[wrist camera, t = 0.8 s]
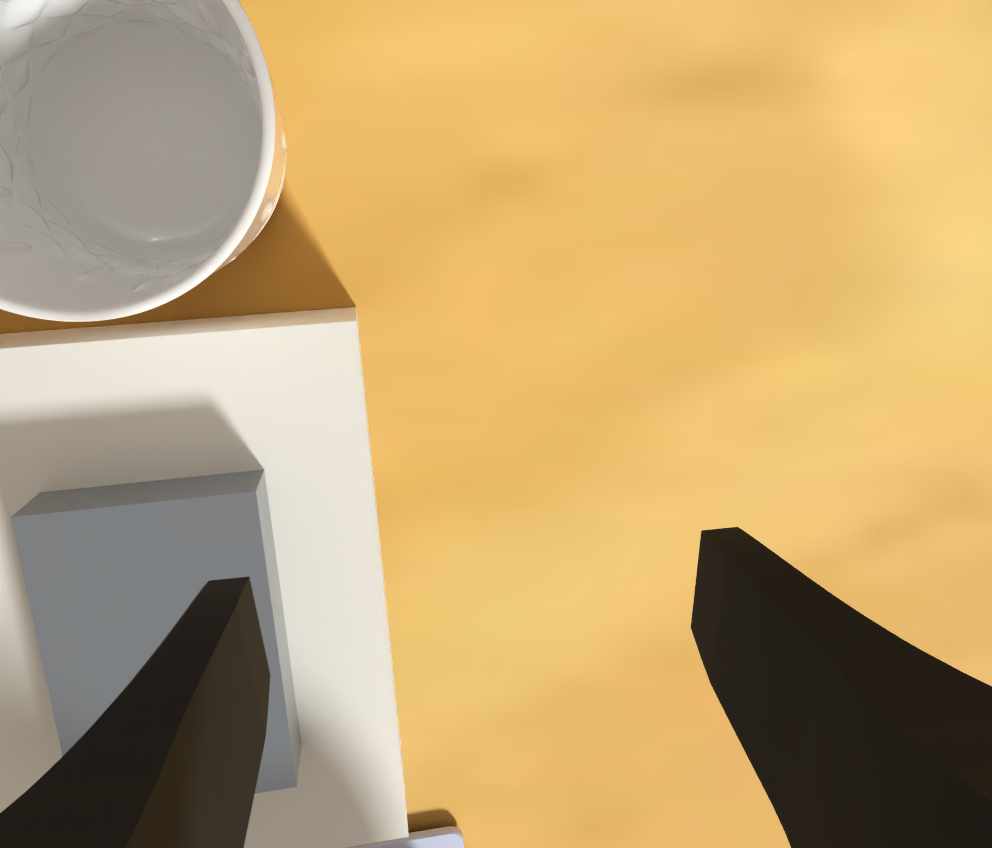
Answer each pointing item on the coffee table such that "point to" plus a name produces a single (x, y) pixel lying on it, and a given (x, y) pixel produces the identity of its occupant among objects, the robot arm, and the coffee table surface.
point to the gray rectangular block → (149, 590)
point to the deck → (294, 516)
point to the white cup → (129, 151)
